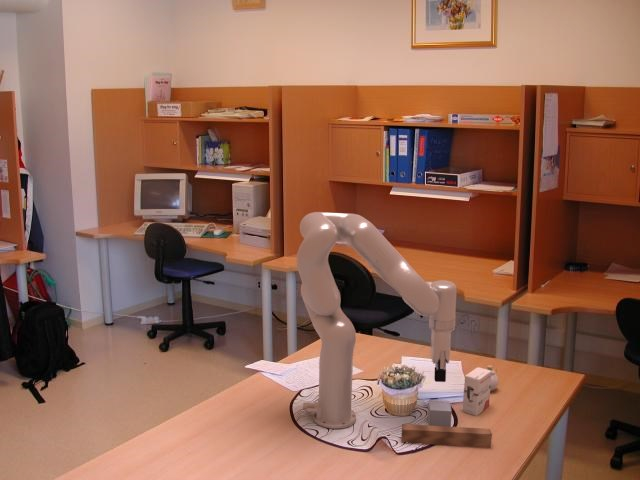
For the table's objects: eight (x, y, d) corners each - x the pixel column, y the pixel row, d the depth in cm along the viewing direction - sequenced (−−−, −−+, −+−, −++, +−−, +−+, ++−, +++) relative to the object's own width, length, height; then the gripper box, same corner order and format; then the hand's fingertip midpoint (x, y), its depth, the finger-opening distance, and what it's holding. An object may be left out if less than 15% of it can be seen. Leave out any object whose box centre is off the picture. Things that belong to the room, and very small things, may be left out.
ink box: (475, 401, 222) (477, 365, 220) (489, 406, 219) (492, 370, 217) (461, 411, 216) (464, 374, 213) (476, 416, 213) (479, 379, 210)
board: (401, 442, 197) (402, 429, 196) (401, 437, 200) (402, 424, 199) (490, 447, 196) (491, 434, 195) (489, 441, 199) (490, 428, 198)
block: (428, 429, 205) (430, 410, 204) (427, 419, 211) (428, 400, 209) (450, 430, 205) (451, 411, 203) (448, 420, 211) (449, 401, 209)
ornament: (490, 384, 234) (493, 355, 232) (504, 394, 228) (506, 364, 225) (474, 387, 232) (476, 358, 230) (487, 397, 225) (490, 367, 223)
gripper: (427, 313, 218) (425, 369, 223) (431, 332, 204) (429, 391, 209) (452, 314, 218) (450, 370, 222) (457, 332, 203) (455, 392, 208)
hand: (439, 380), depth 216 cm, fingers closed
